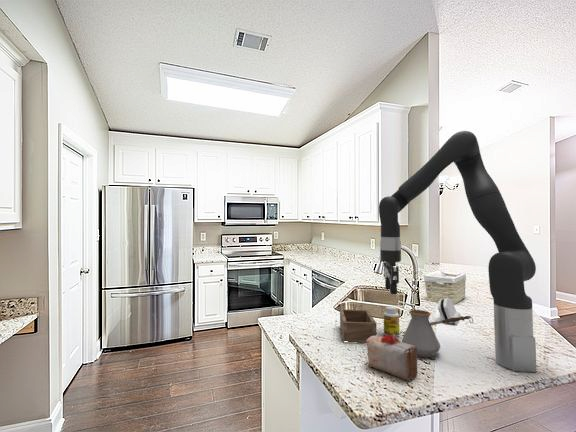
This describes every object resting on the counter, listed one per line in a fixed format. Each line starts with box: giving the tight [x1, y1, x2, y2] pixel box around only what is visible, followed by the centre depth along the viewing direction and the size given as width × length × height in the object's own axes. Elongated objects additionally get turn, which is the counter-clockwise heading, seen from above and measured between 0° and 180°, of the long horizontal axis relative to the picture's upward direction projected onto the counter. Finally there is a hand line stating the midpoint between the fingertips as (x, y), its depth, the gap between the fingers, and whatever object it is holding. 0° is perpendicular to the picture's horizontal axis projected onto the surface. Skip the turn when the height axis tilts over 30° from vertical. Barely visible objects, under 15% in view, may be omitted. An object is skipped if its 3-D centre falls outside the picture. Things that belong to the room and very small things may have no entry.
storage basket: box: [423, 270, 467, 305], centre depth 170 cm, size 24×16×15 cm
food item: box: [365, 334, 419, 382], centre depth 85 cm, size 14×8×10 cm, turn 44°
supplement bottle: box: [383, 306, 400, 338], centre depth 113 cm, size 6×6×10 cm
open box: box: [339, 308, 378, 344], centre depth 113 cm, size 17×11×7 cm, turn 174°
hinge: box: [437, 299, 462, 327], centre depth 132 cm, size 17×5×10 cm, turn 144°
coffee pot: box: [401, 309, 474, 358], centre depth 93 cm, size 21×12×15 cm, turn 39°
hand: (390, 291), depth 114 cm, fingers open, 8 cm apart
